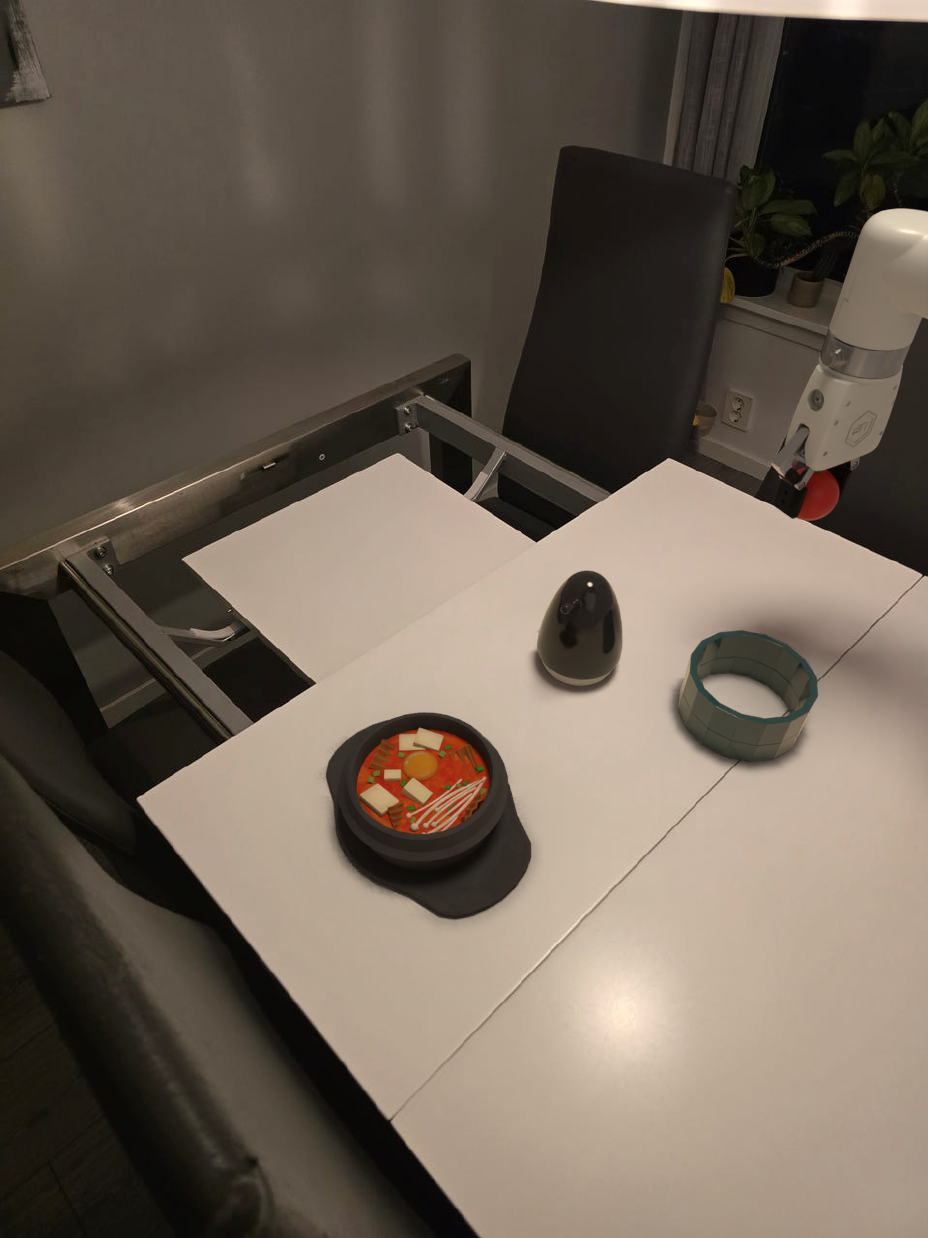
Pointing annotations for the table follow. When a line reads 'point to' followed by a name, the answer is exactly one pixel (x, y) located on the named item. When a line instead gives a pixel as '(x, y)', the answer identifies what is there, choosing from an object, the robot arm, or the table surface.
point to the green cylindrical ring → (763, 664)
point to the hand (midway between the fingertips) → (807, 501)
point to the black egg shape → (581, 630)
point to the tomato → (819, 495)
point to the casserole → (429, 811)
